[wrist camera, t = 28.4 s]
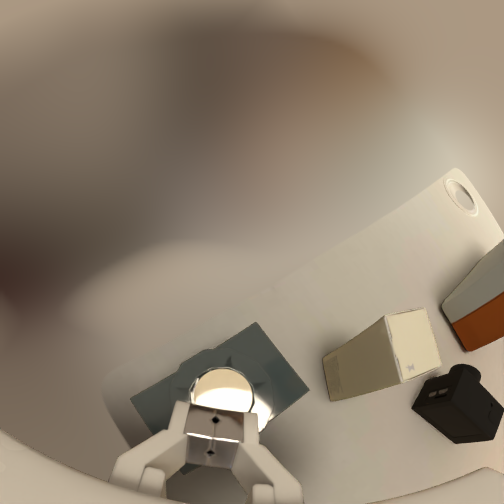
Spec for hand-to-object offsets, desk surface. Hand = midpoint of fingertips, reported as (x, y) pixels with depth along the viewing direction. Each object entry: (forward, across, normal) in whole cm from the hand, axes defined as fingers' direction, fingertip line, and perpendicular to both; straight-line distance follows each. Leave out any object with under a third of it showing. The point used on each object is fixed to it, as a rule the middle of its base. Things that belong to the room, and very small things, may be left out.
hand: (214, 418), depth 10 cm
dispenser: (+13, 0, +12) cm, 18 cm away
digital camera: (+13, -28, +12) cm, 33 cm away
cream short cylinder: (+5, 0, +3) cm, 6 cm away
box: (+16, -13, +9) cm, 23 cm away
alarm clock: (+24, -38, +1) cm, 45 cm away
